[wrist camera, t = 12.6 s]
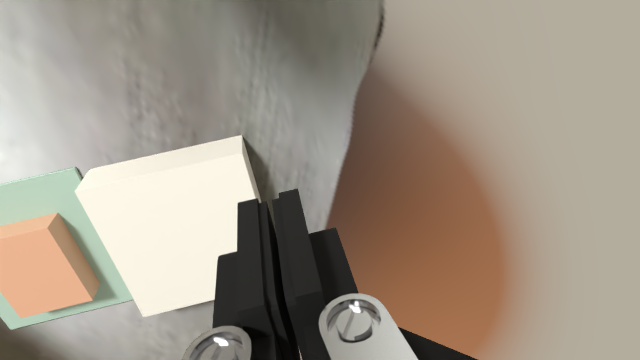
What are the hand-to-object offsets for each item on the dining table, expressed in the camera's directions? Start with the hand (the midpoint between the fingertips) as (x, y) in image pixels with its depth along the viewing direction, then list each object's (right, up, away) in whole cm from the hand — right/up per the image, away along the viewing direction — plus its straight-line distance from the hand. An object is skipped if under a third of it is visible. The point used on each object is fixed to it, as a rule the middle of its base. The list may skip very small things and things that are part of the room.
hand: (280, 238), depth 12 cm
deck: (-12, -2, +30) cm, 33 cm away
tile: (-25, -7, +27) cm, 38 cm away
